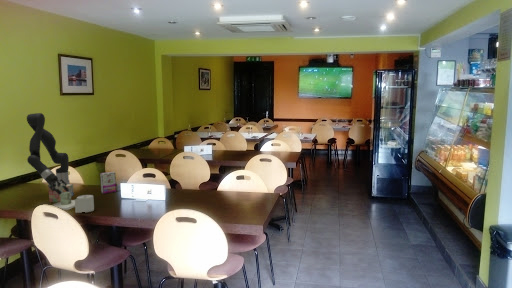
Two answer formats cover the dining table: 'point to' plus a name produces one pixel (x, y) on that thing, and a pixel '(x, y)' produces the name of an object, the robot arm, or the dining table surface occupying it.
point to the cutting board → (66, 207)
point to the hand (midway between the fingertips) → (64, 192)
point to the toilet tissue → (84, 204)
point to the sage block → (65, 198)
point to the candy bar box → (108, 182)
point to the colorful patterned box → (55, 196)
